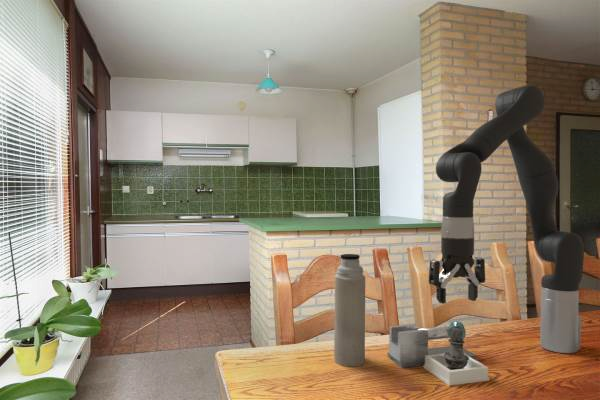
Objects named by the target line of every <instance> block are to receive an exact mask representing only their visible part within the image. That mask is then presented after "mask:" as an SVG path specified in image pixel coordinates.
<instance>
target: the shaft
mask: <svg viewBox="0 0 600 400" xmlns="http://www.w3.org/2000/svg"><path fill="white" fill-rule="evenodd" d="M456 323H458V326H459V327H461V328H462V329H463V341H465V339H466V328H465V326H464V324H463V323H462V322H461V321H452V322H450V324H449V325H448V326H447V325H446V326H438V327H437V326H436V327H427V328H419V329H417V330H423V329H426V330H428V341H433V340H442V339H451V328H452V327H453V326H455V325H456Z"/></svg>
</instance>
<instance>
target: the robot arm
mask: <svg viewBox="0 0 600 400" xmlns="http://www.w3.org/2000/svg"><path fill="white" fill-rule="evenodd" d="M545 101H546V100H545V96H544V93H543V91H542V90H541V89H540V87H538V86H536V85H535V84H527V85H523V86H518V87H516V88H512V89H509V90H505V91H502V92H501V93H499V94H498V95H497V96H496V99H495V102H494V103H495V104H494V106H495V114H496V116H495V117H493V118H491V119H489V120H488V121H486V122H485V123H483V124H482V125H480V126H479V127H478V128H476V129H475V130H474V131H473V132H472V133H471V134H470V135H469V136H468V137H467V138H466V139H465V140H464V141H463V142H461V143H458V144H456V145H455V146H454V147H452V148H450V149H449V150H446V151H445V152H444V153H443V154H442V155H441V156H440V157H439V158H438V160H437V162H436V164H435V165H436V166H435V174H436V176H437V178H438V179H440V181H442V182H446V183H457V185H456V188H455V190H454V191H449V192H446V193H445V194H444V195H443V196H442V197H443V198H442V220H441V239H440V240H441V242H440V243H441V250H440V252H441V255H442V256H441V257H442V258H441V260H436V259H430V261H429V268H428V269H429V271H428V283H429V285H432V286H435V288H436V300H437V301H438V303H440V304H441V305H442V304H446V300H447V289H446V286H447V285H448V283H449V282H451V281H452V280H453V278H455V279H456V278H465V279H466V281H467V282H468V285H467V286H468V287H467V289H468V290H467V299H468V300H469V301H472V302H475V301H477V299H478V297H479V296H478V295H479V293H478V292H479V291H478V289H479V288H478V287H479V285H480V284H481V283H482V284H483V283H485V282H486V264H485V263H486V262H485V259H484V258H482V257H478V256H477V257H473V256H474V254H475V223H474V199H475V196H476V193H477V188H478V187H479V186H478V185H479V183H480V180H481V179H480V178H481V176H482V175H481V174H482V169H483V167H482V163H483V162H485V161H486V160H488V158H490V156H492V155H493V154H494V152H496V150H497V149H498V148H499V147H500V146H501V145H502V144H503V143H504V142H505V141H507V144H508V147H509V150H510V152H511V156H512V159H513V162H514V166H515V169H516V174H517V177H518V180H519V185H520V188H521V190H522V194H523V197H524V199H525V204H526V205H525V206H526V208H527V212H528V215H529V219H530V225H531V232H532V236H533V237H532V238H533V244H534V248H535V251H536V253H537V255H538V257H539V259H542V261H545V262H547V263H553V264H554V268H553V272H552V273H550V274H546V275H543V276H541V284H540V287H541V288H540V289H541V290H540V293H541V294H540V332H539V333H540V335H539V337H540V338H539V339H540V341H539V342H540V343H539V344H540V346H541V347H542V348H543V349H545V350H547V351H551V352H555V353H560V354H575V353H577V352H578V351H580V350H581V338H582V337H581V335H582V334H581V332H582V331H581V329H582V326H581V325H582V317H581V315H579V302H580V301H579V295H580V293H579V290H580V283H581V282H582V279H583V271H584V259H585V244H584V242H583V239H582V237H581V236H580V235H578V234H577V233H574V232H569V231H561V230H560V231H559V230H558V229H557V226H556V225H557V224H556V223H555V218H554V212H553V211H554V206H555V202H556V200H557V196H558V192H559V180H558V177H557V174H556V170H555V166H554V163H553V161H552V159H550V157H549V156H548V155H547V154H546V153H545V152H544V151H543V150H542V149H541V148H540V147H539V146H537V145H536V144H535V143H534V142H533V141H532V140H531V139H530V137H529V136H528V134H527V132H526V130H525V127H524V126H526V125H527V124H529V123H530V122H531V121H533V120H534V119H536V118H538V117H539V116H540V114H542V112H544V107H545V103H546V102H545ZM472 268H474V271H473V270H472ZM441 269H442V270H441Z"/></svg>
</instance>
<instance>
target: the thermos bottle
mask: <svg viewBox="0 0 600 400" xmlns="http://www.w3.org/2000/svg"><path fill="white" fill-rule="evenodd" d="M360 256H361V255H360V254H356V253H355V254H354V253H343V254H341V255H340V265H339V266H338V267H337V270H336V272H337V273H336V274H335V275H334V335H333V336H334V340H333V341H334V342H333V343H334V344H333V345H334V346H333V347H334V348H333V351H334V353H333V355H334V359H333V361H334V362H335V363H336V364H337V365H341V366H345V367H359V366H362V365H364V363H365V362H366V360H365V359H366V358H365V357H366V345H365V344H366V276H365V275H364V270H363V267H362V266H361V265H360Z"/></svg>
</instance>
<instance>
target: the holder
mask: <svg viewBox="0 0 600 400" xmlns="http://www.w3.org/2000/svg"><path fill="white" fill-rule="evenodd" d="M465 355H466V354H465ZM468 357H469V356H468ZM448 366H449V365H448V364H447V363H446V361H445V357H444V354H436V355H427V356H425V365H423V368H424V369H425V370H427V372H429V373H431V375H434V377H436V378H438V379H439V380H440V381H442V382H443V383H445V385H447V386H449V387H451V386H458V385H463V384H471V383H472V384H473V383H480V382H481V383H482V382H486V381H487V382H488V381H491V380H490V379H491V378H490V377H489V367H488V366H486V365H484V364H483V363H481V362H479V361H478V360H477V359H473V358H471V357H469V360H468V363H467V365H466V366H465V367H464V369H456V370H450V369H448V368H447V367H448Z"/></svg>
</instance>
